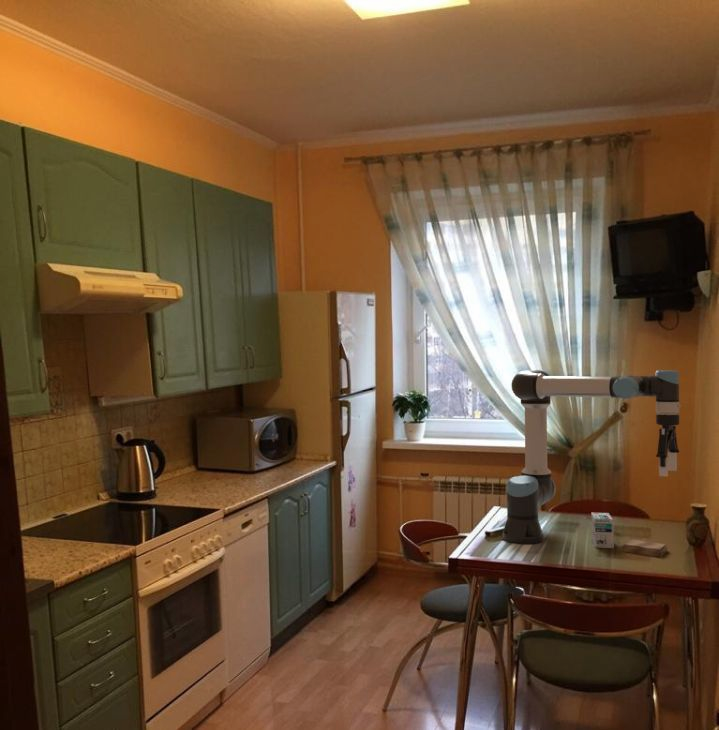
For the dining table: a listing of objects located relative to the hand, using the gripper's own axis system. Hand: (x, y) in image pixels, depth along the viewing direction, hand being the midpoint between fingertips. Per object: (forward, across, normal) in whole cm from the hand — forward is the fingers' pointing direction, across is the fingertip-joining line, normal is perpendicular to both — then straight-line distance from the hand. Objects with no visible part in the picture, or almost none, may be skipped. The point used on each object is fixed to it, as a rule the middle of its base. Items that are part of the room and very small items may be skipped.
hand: (668, 473), depth 235 cm
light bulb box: (+28, -3, +22) cm, 36 cm away
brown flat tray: (+28, -4, +7) cm, 29 cm away
